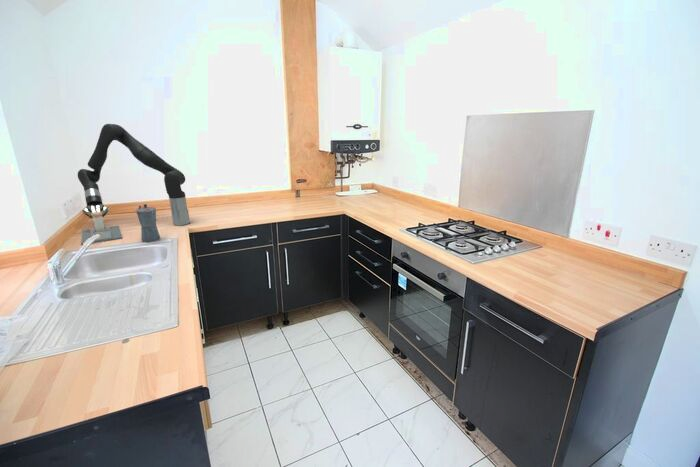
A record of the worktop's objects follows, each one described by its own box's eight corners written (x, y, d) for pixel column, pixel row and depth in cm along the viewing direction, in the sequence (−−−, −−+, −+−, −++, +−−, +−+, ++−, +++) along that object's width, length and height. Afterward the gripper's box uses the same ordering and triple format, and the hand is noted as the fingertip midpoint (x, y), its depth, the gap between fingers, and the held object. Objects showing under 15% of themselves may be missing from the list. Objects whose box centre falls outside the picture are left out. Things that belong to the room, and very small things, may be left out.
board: (82, 232, 198) (82, 230, 198) (119, 226, 208) (118, 225, 208) (81, 245, 177) (81, 243, 177) (122, 238, 187) (122, 237, 187)
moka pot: (149, 244, 178) (142, 207, 172) (134, 239, 186) (126, 203, 180) (166, 239, 186) (160, 204, 180) (151, 234, 194) (145, 200, 187)
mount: (92, 235, 189) (90, 228, 188) (110, 232, 194) (109, 226, 193) (92, 241, 180) (90, 234, 179) (111, 238, 185) (110, 231, 184)
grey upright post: (96, 235, 189) (90, 212, 185) (106, 233, 192) (101, 210, 188) (96, 237, 185) (90, 213, 181) (107, 235, 188) (101, 212, 184)
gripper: (78, 195, 192) (83, 221, 187) (106, 193, 200) (111, 217, 194) (80, 203, 198) (85, 228, 192) (107, 200, 205) (113, 224, 200)
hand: (98, 223), depth 193 cm, fingers closed
